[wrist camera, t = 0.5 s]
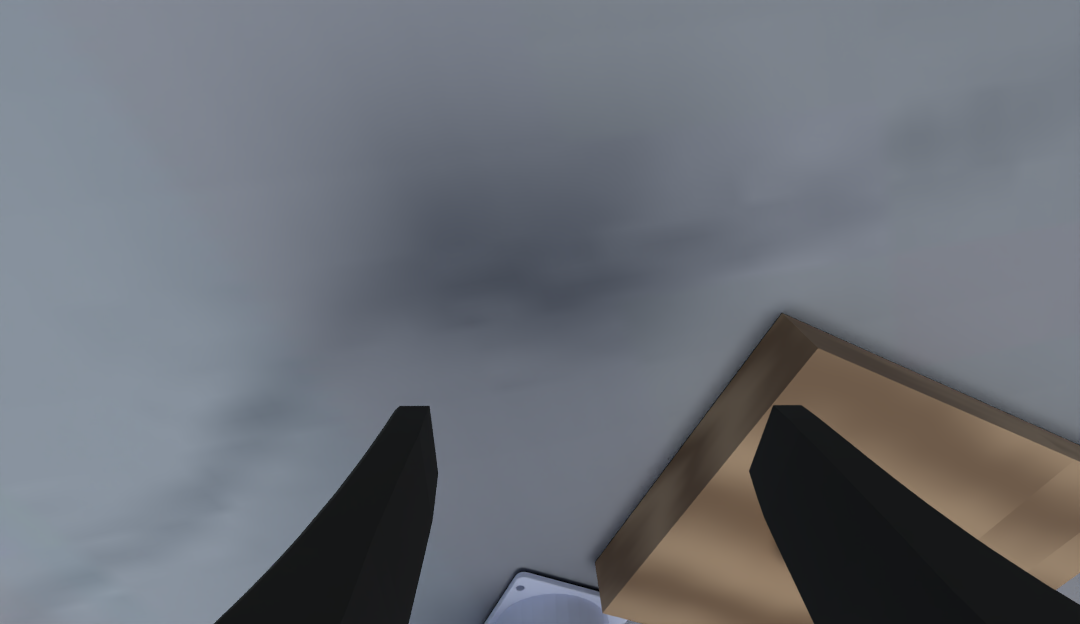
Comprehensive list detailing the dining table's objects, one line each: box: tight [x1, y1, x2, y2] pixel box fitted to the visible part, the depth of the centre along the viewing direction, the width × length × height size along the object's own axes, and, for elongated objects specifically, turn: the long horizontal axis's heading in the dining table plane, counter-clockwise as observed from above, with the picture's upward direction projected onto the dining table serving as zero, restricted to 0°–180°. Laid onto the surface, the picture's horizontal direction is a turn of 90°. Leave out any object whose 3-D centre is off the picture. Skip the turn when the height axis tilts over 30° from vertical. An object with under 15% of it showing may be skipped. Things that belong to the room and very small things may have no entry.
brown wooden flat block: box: [595, 313, 1080, 624], centre depth 26 cm, size 18×22×3 cm
